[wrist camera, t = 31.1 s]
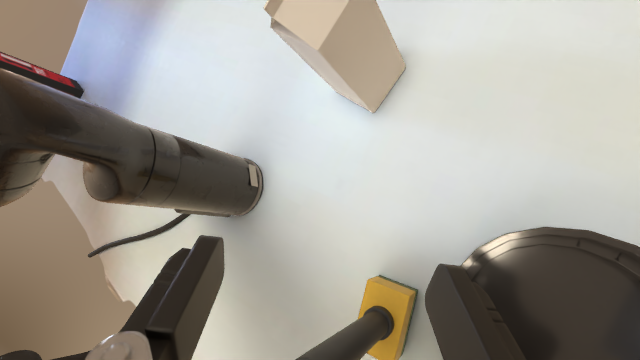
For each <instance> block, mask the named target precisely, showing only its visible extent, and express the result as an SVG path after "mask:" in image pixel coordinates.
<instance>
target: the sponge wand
mask: <svg viewBox="0 0 640 360" xmlns="http://www.w3.org/2000/svg"><path fill="white" fill-rule="evenodd" d="M417 292H418V290H417V289H414V288H412V287H409V286H406V285H404V284H401V283H399V282H396V281H393V280H391V279H388V278H386V277H383V276H380V275H379V276H376V277H373V278H370V279H368V280H367V284H366V288H365V292H364V297H363V301H362V305H361V309H360V313H359V317H358V320H357V321H355V322H353V323H352V324H350V325H349V326H347V327H346V328H344V329H342V330H341V331H339V332H338V333H336V334H335V335H333V336H331V337H330V338H328V339H327V340H325V341H324V342H322V343H321V344H319V345H317V346H316V347H314V348H313V349H311V350H310V351H308V352H306V353H305V354H303V355H302V356H300V357H299V358H297V359H296V360H360V359H361V358H362V357H363V356H364V355H365V354H366V353H368V354H369V355H371V356H373V357H375V358H377V359H378V360H398V359H399V358H400V356H401V355H402V354H403V351H404V346H405V342H406V338H407V334H408V330H409V326H410V321H411V317H412V313H413V309H414V305H415V300H416V296H417Z"/></svg>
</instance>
